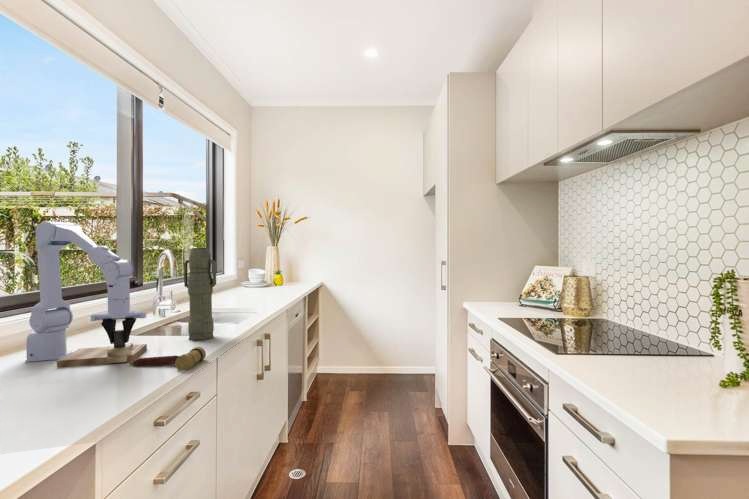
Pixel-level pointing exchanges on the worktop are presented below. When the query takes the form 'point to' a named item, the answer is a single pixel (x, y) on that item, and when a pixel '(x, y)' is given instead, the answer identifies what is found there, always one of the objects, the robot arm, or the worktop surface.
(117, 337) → the rubber stamp
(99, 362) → the board
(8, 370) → the worktop surface
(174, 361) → the gavel
